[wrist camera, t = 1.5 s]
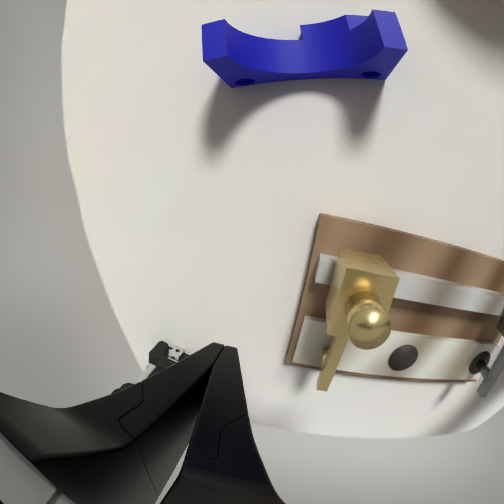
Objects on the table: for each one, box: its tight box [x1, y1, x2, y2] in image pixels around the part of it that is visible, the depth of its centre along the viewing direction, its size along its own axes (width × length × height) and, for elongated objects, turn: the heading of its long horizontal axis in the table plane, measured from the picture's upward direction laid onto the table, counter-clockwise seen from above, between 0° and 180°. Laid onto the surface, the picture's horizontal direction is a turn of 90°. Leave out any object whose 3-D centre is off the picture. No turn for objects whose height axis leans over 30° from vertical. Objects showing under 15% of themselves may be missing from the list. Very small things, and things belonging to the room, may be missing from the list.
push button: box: [112, 341, 190, 394], centre depth 21 cm, size 7×5×10 cm
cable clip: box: [202, 10, 408, 88], centre depth 13 cm, size 12×4×6 cm, turn 95°
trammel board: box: [286, 213, 504, 382], centre depth 18 cm, size 22×13×3 cm, turn 81°
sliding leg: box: [317, 247, 400, 391], centre depth 15 cm, size 3×10×7 cm, turn 172°
